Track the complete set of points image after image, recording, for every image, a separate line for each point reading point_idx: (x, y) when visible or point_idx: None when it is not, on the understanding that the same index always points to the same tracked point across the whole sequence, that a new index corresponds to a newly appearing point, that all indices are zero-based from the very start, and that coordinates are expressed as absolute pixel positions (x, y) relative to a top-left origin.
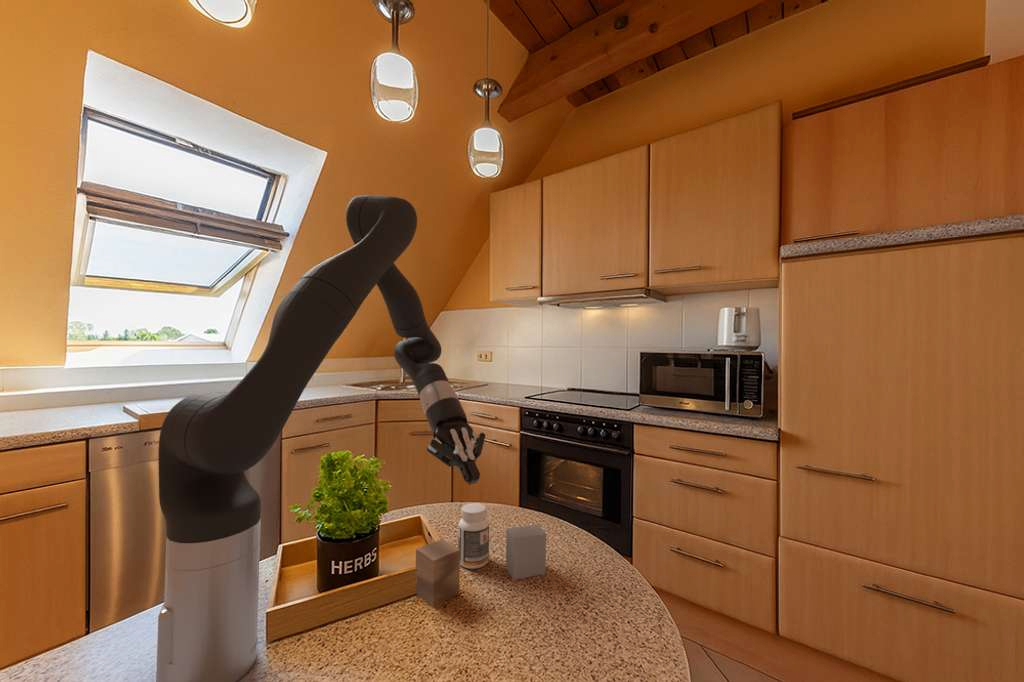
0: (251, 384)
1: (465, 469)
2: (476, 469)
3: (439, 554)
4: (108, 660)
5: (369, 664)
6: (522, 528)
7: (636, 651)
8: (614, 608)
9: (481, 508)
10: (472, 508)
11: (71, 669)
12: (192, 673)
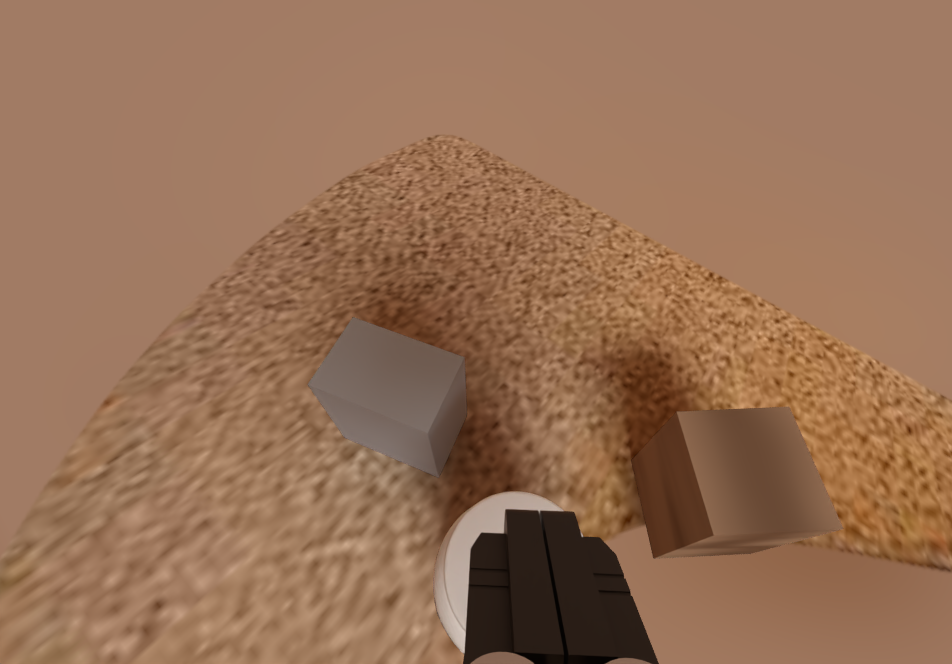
0: None
1: (625, 607)
2: (489, 581)
3: (759, 428)
4: None
5: (886, 383)
6: (380, 393)
7: (455, 167)
8: (384, 225)
9: (490, 526)
10: None
11: None
12: None
